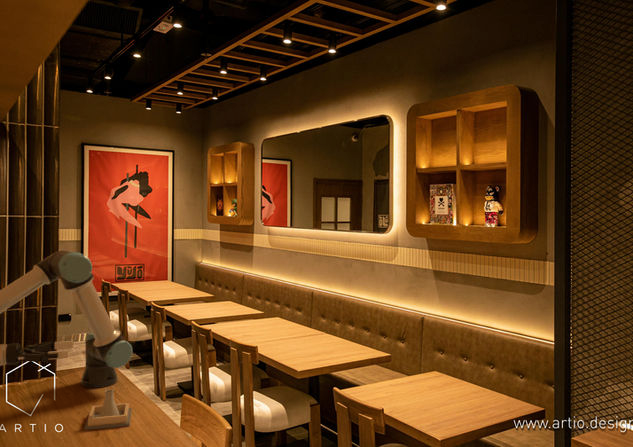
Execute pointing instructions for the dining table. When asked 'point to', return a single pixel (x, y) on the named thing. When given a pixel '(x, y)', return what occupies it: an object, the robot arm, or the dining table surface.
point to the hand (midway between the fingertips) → (70, 349)
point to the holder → (109, 418)
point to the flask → (109, 405)
